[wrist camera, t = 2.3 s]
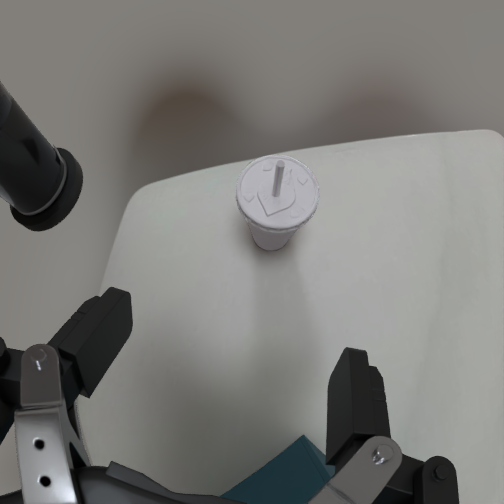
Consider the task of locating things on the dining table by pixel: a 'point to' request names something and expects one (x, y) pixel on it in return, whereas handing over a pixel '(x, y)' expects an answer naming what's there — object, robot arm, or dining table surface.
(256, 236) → the smoothie
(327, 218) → the dining table surface
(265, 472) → the open storage box
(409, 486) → the robot arm
